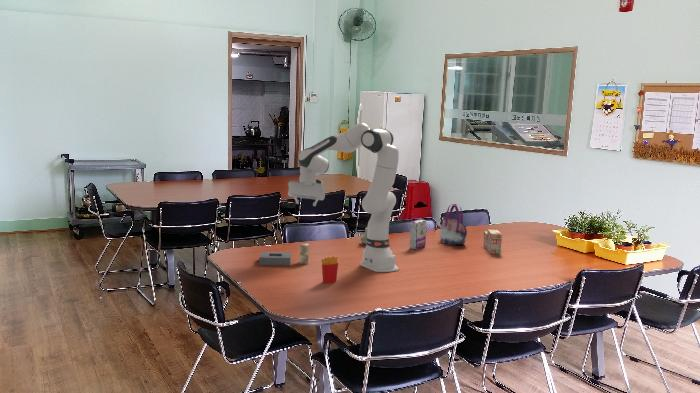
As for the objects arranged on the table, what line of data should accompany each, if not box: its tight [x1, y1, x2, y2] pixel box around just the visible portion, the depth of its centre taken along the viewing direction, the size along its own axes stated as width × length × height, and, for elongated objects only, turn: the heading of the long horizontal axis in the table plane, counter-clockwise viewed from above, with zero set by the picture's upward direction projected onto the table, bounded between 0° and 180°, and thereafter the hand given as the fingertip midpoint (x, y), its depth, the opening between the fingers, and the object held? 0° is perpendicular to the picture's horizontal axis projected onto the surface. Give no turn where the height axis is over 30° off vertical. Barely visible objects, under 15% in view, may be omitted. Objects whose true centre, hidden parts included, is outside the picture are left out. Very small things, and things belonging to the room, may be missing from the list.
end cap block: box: [258, 251, 292, 267], centre depth 309 cm, size 16×12×4 cm
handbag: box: [439, 203, 468, 246], centre depth 369 cm, size 21×10×25 cm, turn 37°
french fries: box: [321, 256, 339, 284], centre depth 277 cm, size 8×4×12 cm, turn 124°
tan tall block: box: [299, 243, 310, 265], centre depth 310 cm, size 4×4×10 cm
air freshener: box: [360, 226, 368, 246], centre depth 359 cm, size 11×8×10 cm
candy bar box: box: [409, 219, 427, 250], centre depth 354 cm, size 11×5×16 cm, turn 143°
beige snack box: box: [483, 229, 503, 255], centre depth 356 cm, size 21×6×12 cm, turn 178°
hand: (305, 204), depth 320 cm, fingers open, 8 cm apart
